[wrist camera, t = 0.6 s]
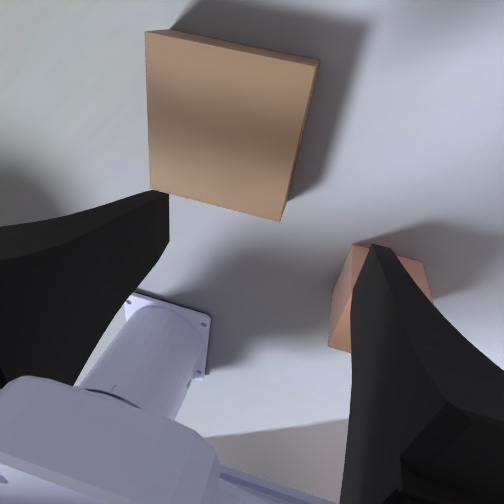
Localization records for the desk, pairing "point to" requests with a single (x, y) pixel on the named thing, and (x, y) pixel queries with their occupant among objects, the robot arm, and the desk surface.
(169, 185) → the walnut slab
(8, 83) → the desk surface
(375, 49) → the desk surface
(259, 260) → the desk surface
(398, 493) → the robot arm
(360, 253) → the terracotta block
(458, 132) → the desk surface
